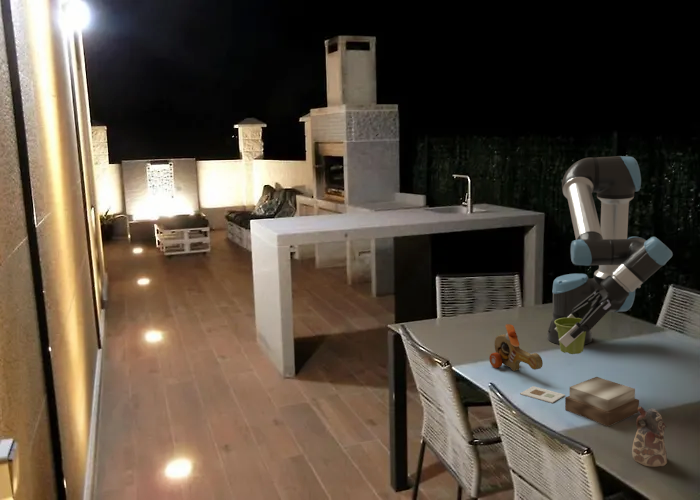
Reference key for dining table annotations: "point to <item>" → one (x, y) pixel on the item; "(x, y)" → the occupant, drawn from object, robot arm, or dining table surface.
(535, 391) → the page
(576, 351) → the plant pot
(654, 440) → the figurine
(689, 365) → the dining table surface
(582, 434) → the dining table surface
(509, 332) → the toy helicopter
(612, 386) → the stacked square slabs
